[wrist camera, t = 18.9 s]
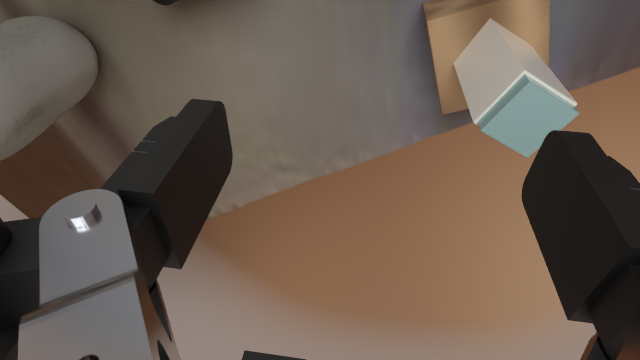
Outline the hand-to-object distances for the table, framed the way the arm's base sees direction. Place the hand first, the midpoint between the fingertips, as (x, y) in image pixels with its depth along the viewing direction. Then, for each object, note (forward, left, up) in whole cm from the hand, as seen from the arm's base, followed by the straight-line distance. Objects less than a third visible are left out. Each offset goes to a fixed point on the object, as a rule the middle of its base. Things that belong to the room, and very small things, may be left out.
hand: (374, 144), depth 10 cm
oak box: (+11, -9, -34) cm, 37 cm away
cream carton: (+11, -8, -28) cm, 32 cm away
